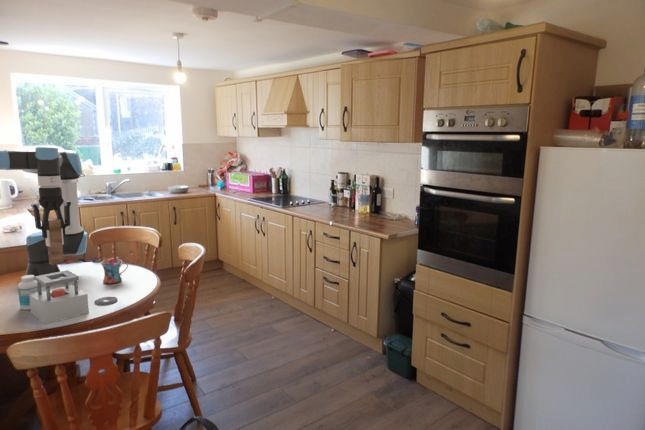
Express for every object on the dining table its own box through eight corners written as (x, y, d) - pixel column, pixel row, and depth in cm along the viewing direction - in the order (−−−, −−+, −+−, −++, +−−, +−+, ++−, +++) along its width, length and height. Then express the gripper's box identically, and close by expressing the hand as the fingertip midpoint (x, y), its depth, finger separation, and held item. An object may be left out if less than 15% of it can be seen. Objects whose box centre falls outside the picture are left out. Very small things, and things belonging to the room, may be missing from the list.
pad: (91, 301, 188) (91, 300, 188) (111, 296, 195) (111, 295, 195) (99, 307, 182) (99, 305, 182) (121, 301, 189) (121, 300, 189)
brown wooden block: (49, 263, 172) (45, 219, 169) (60, 261, 175) (56, 218, 172) (52, 265, 169) (48, 220, 166) (63, 263, 172) (60, 219, 169)
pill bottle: (26, 303, 184) (23, 273, 181) (45, 303, 184) (42, 273, 182) (16, 310, 176) (12, 279, 174) (35, 310, 177) (32, 279, 175)
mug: (102, 285, 208) (100, 264, 206) (102, 280, 216) (100, 259, 214) (129, 282, 214) (128, 262, 212) (128, 277, 222) (127, 257, 220)
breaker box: (30, 312, 174) (27, 276, 172) (73, 302, 187) (70, 268, 184) (44, 324, 164) (41, 285, 162) (88, 312, 176) (86, 276, 174)
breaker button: (51, 309, 175) (50, 290, 174) (63, 306, 178) (62, 288, 177) (55, 312, 172) (54, 293, 171) (67, 309, 176) (66, 290, 174)
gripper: (27, 188, 158) (33, 250, 162) (77, 186, 171) (81, 243, 175) (21, 187, 163) (26, 246, 167) (70, 184, 176) (74, 239, 180)
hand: (54, 244), depth 171 cm, fingers closed on brown wooden block, 4 cm apart
